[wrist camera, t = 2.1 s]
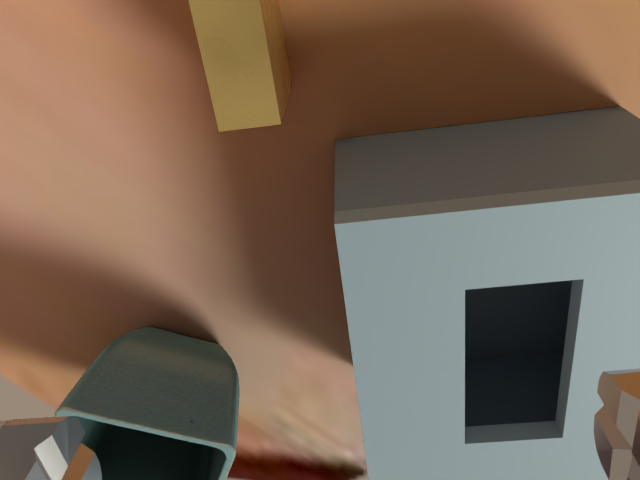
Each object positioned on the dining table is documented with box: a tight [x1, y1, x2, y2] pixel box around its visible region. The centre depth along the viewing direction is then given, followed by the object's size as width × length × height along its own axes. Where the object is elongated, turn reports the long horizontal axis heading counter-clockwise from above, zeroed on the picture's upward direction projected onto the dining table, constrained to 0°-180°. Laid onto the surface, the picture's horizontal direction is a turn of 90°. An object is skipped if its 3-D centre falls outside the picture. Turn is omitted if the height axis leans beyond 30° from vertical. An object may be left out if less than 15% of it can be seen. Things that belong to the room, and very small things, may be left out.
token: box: [188, 0, 292, 132], centre depth 23 cm, size 6×2×6 cm, turn 7°
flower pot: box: [55, 327, 239, 480], centre depth 32 cm, size 9×9×9 cm
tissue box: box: [334, 106, 640, 480], centre depth 27 cm, size 16×14×9 cm
